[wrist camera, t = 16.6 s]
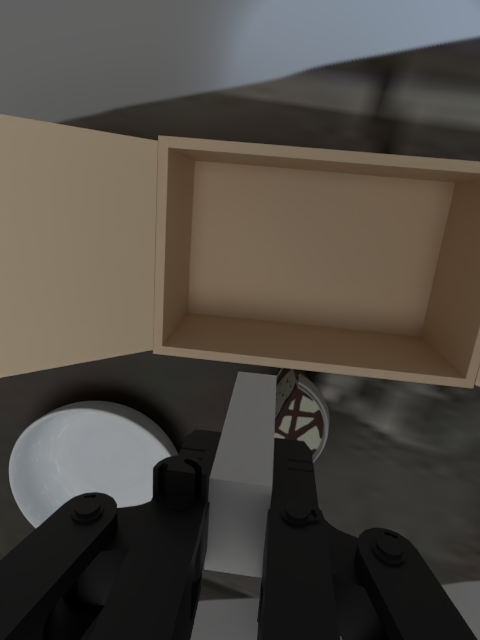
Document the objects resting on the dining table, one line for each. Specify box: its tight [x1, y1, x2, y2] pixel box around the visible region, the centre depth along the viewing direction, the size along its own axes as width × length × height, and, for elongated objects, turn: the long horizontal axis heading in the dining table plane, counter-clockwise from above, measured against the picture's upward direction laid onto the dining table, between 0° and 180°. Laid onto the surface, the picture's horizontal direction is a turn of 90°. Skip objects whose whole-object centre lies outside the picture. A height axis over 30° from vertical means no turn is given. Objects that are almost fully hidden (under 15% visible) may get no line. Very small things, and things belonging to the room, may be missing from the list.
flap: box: [0, 114, 158, 378], centre depth 30 cm, size 17×14×1 cm
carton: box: [153, 135, 480, 388], centre depth 39 cm, size 18×28×12 cm, turn 85°
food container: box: [274, 368, 329, 462], centre depth 45 cm, size 12×6×10 cm, turn 152°
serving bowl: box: [9, 401, 178, 528], centre depth 51 cm, size 21×21×7 cm
